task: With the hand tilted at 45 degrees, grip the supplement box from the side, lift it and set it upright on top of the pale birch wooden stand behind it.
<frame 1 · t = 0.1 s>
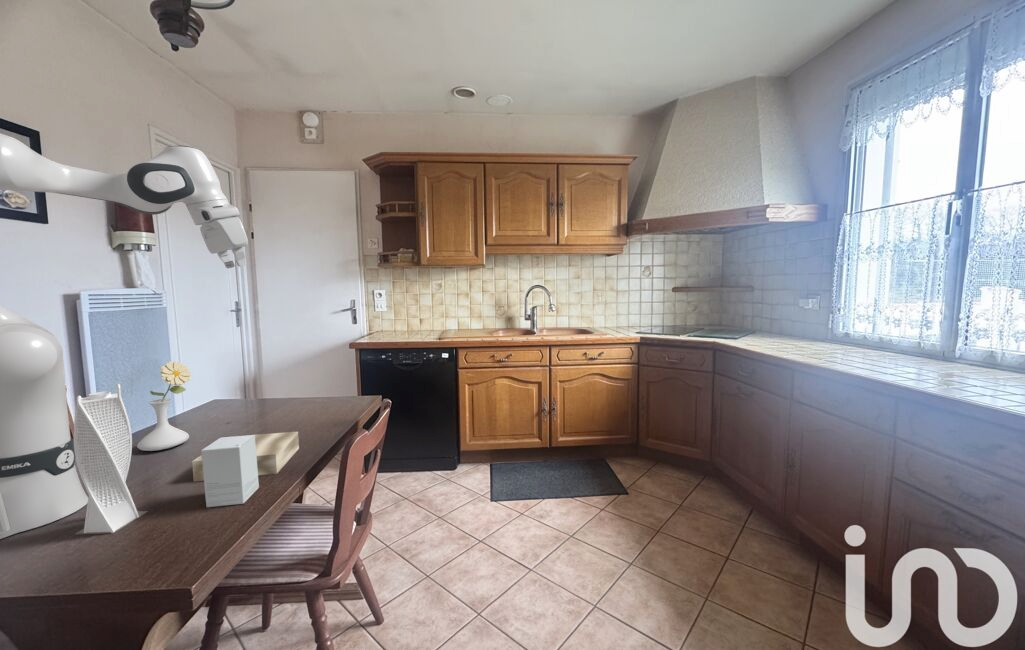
hand: (236, 266, 102), 52 cm above the table, tool tilted 20°, fingers open, 8 cm apart
skyscraper: (114, 526, 74), on the table
supplement box: (233, 498, 84), on the table
flower in vase: (168, 446, 113), on the table
birch stand: (251, 463, 100), on the table
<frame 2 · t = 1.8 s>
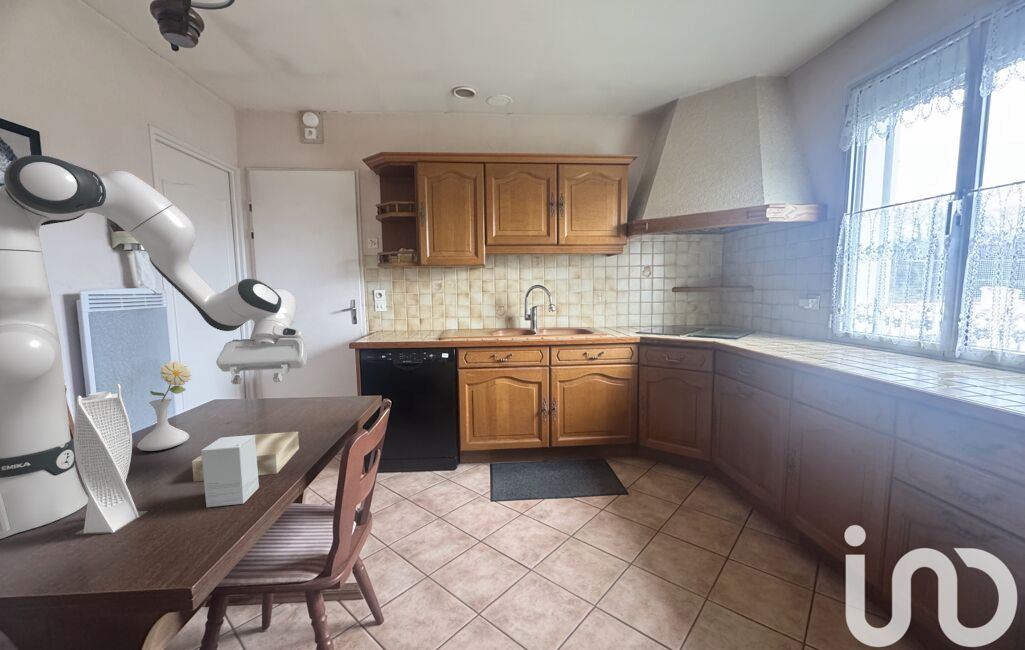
hand: (256, 382, 96), 23 cm above the table, tool tilted 45°, fingers open, 8 cm apart
nothing on the table moved.
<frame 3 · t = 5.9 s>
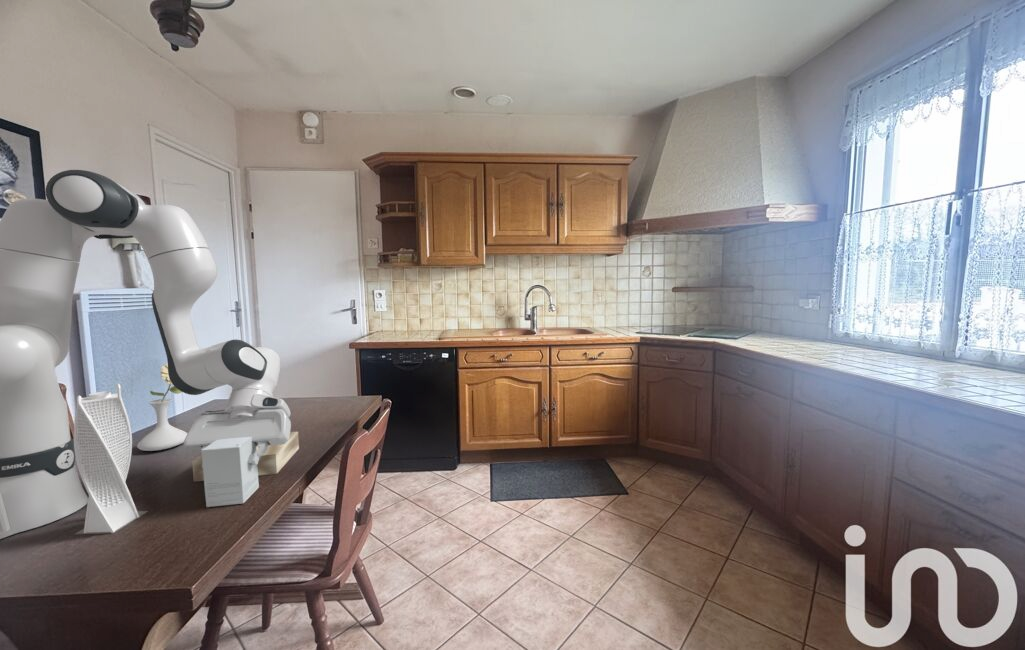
hand: (229, 466, 82), 7 cm above the table, tool tilted 45°, fingers closed on supplement box, 7 cm apart
supplement box: (233, 498, 84), on the table, touching gripper
everything else where it was.
when the fingers open (14 cm above the table, at t = 11.5 s): supplement box stays where it is, resting on birch stand.
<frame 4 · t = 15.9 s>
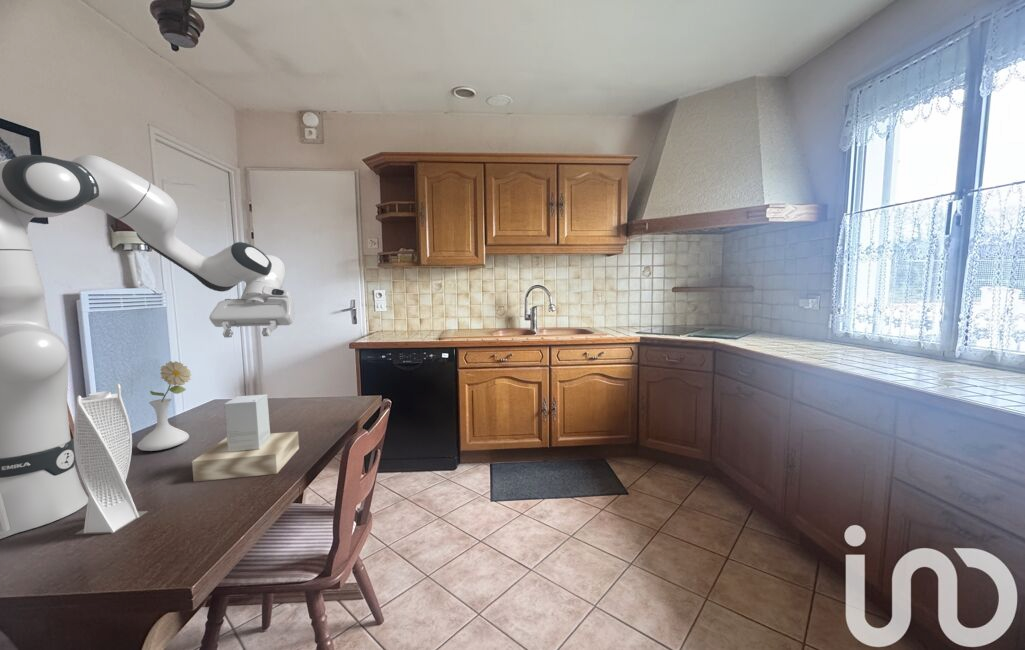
hand: (246, 335, 103), 33 cm above the table, tool tilted 45°, fingers open, 8 cm apart
supplement box: (250, 446, 100), point 5 cm above the table, touching birch stand
everything else where it was.
at the end: supplement box inside the target area on the birch stand (0.3 cm from its centre), point 4.8 cm above the birch stand's base; supplement box tilted 0°; the gripper is holding nothing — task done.
